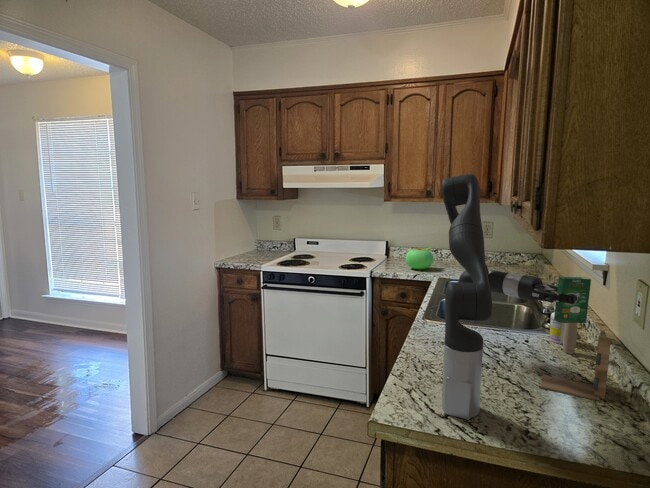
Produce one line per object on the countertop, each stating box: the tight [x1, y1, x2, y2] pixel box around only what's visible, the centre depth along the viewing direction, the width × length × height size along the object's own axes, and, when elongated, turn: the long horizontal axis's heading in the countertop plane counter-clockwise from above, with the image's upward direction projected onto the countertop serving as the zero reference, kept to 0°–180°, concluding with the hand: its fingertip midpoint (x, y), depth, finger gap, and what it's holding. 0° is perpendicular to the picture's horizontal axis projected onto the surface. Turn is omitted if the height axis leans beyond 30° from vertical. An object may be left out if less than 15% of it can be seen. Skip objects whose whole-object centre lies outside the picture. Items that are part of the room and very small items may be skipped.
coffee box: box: [554, 275, 592, 324], centre depth 117 cm, size 8×3×13 cm, turn 89°
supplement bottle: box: [549, 306, 565, 345], centre depth 150 cm, size 7×7×13 cm
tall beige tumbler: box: [562, 323, 578, 355], centre depth 139 cm, size 5×6×15 cm
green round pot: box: [405, 247, 435, 270], centre depth 273 cm, size 18×17×15 cm
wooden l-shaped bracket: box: [540, 328, 611, 402], centre depth 117 cm, size 12×15×16 cm
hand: (580, 297), depth 116 cm, fingers closed on coffee box, 7 cm apart
